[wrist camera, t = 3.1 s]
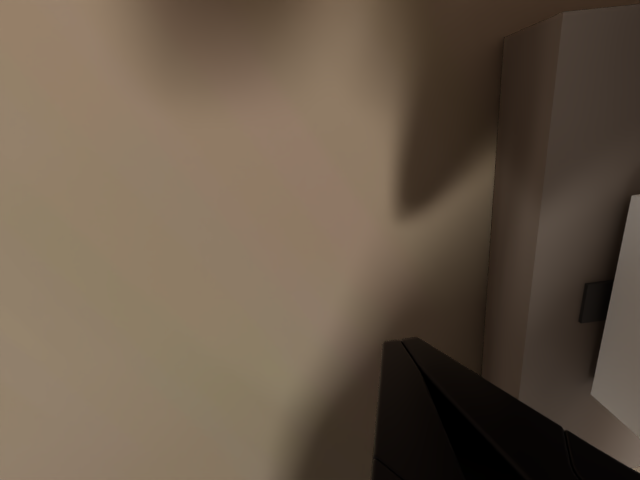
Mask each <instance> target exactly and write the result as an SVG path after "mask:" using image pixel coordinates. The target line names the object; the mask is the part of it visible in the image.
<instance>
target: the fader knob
mask: <svg viewBox="0 0 640 480" xmlns="http://www.w3.org/2000/svg"><path fill="white" fill-rule="evenodd" d="M591 395H592V396H593V397H594V398H595V399H596V400H598V401H599V402H600V403H601V404H602V405H603V406H604V407H605V408H607V409H608V410H609V411H610V412H611V413H612V414H613V415H614V416H616V417H617V418H618V419H619V420H620V421H621V422H622V423H623V424H625V425H626V426H627V427H628V428H629V429H630V430H631V431H632V432H634V433H635V434H636V435H637V436H638V437H639V438H640V195H632V196H631V201H630V206H629V211H628V215H627V220H626V225H625V230H624V235H623V240H622V245H621V249H620V254H619V259H618V264H617V269H616V274H615V279H614V283H613V288H612V293H611V298H610V303H609V308H608V313H607V317H606V322H605V327H604V332H603V337H602V342H601V347H600V351H599V356H598V361H597V366H596V371H595V376H594V381H593V385H592V390H591Z"/></svg>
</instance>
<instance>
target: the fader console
mask: <svg viewBox="0 0 640 480" xmlns="http://www.w3.org/2000/svg"><path fill="white" fill-rule="evenodd" d="M632 195H640V4H635V5H625V6H615V7H606V8H596V9H586V10H576V11H566V12H562V13H560V14H557V15H555V16H553V17H550V18H548V19H546V20H543V21H541V22H539V23H537V24H534V25H532V26H530V27H527V28H525V29H523V30H521V31H518V32H516V33H514V34H511V35H509V36H507V37H504V46H503V61H502V76H501V91H500V106H499V121H498V136H497V151H496V166H495V181H494V196H493V211H492V225H491V240H490V255H489V270H488V285H487V300H486V315H485V330H484V345H483V360H482V375H481V377H483V378H484V379H486V380H488V381H489V382H491V383H492V384H494V385H496V386H497V387H499V388H501V389H502V390H504V391H505V392H507V393H509V394H510V395H512V396H513V397H515V398H517V399H518V400H520V401H521V402H523V403H525V404H526V405H528V406H530V407H531V408H533V409H534V410H536V411H538V412H539V413H541V414H542V415H544V416H546V417H547V418H549V419H551V420H552V421H554V422H555V423H557V424H559V425H560V426H562V427H563V429H564V431H565V430H568V431H570V432H572V433H573V434H575V435H577V436H578V437H580V438H581V439H583V440H585V441H586V442H588V443H590V444H591V445H593V446H594V447H596V448H598V449H600V450H601V451H603V452H605V453H606V454H608V455H610V456H611V457H613V458H615V459H616V460H618V461H620V462H621V463H623V464H625V465H626V466H628V467H630V468H636V467H640V438H639V437H638V436H637V435H636V434H635V433H634V432H632V431H631V430H630V429H629V428H628V427H627V426H626V425H625V424H623V423H622V422H621V421H620V420H619V419H618V418H617V417H616V416H614V415H613V414H612V413H611V412H610V411H609V410H608V409H607V408H605V407H604V406H603V405H602V404H601V403H600V402H599V401H598V400H596V399H595V398H594V397H593V396H592V395H591V390H592V385H593V381H594V376H595V371H596V366H597V361H598V356H599V351H600V347H601V342H602V337H603V332H604V327H605V322H606V317H607V313H608V308H609V303H610V298H611V293H612V288H613V283H614V279H615V274H616V269H617V264H618V259H619V254H620V249H621V245H622V240H623V235H624V230H625V225H626V220H627V215H628V211H629V206H630V201H631V196H632Z"/></svg>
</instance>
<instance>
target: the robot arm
mask: <svg viewBox="0 0 640 480" xmlns="http://www.w3.org/2000/svg"><path fill="white" fill-rule="evenodd" d="M371 480H640V473H639V472H637V471H635V470H633V469H631V468H630V467H628V466H626V465H625V464H623V463H621V462H620V461H618V460H616V459H615V458H613V457H611V456H610V455H608V454H606V453H605V452H603V451H601V450H600V449H598V448H596V447H594V446H593V445H591V444H590V443H588V442H586V441H585V440H583V439H581V438H580V437H578V436H577V435H575V434H573V433H572V432H570V431H568V430H565V431H564V429H563V427H562V426H560V425H559V424H557V423H555V422H554V421H552V420H551V419H549V418H547V417H546V416H544V415H542V414H541V413H539V412H538V411H536V410H534V409H533V408H531V407H530V406H528V405H526V404H525V403H523V402H521V401H520V400H518V399H517V398H515V397H513V396H512V395H510V394H509V393H507V392H505V391H504V390H502V389H501V388H499V387H497V386H496V385H494V384H492V383H491V382H489V381H488V380H486V379H484V378H483V377H481V376H480V375H478V374H476V373H475V372H473V371H472V370H470V369H468V368H467V367H465V366H463V365H462V364H460V363H459V362H457V361H455V360H454V359H452V358H451V357H449V356H447V355H446V354H444V353H442V352H441V351H439V350H438V349H436V348H434V347H433V346H431V345H430V344H428V343H426V342H425V341H423V340H422V339H420V338H418V337H412V338H405V339H402V340H401V341H400V340H391V341H385V342H383V344H382V355H381V367H380V379H379V390H378V402H377V414H376V425H375V437H374V448H373V461H372V469H371Z"/></svg>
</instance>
